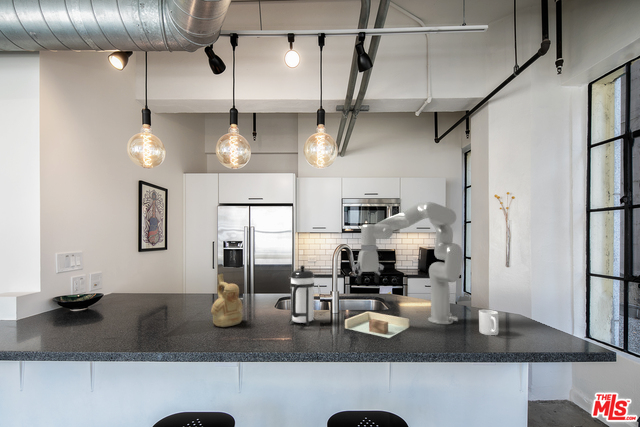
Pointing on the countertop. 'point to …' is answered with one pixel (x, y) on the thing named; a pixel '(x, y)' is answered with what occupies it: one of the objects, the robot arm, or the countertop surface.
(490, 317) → the cup
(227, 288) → the ceramic vessel
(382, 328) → the copper block
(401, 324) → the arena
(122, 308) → the countertop surface
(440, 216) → the robot arm
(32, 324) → the countertop surface
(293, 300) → the coffee press
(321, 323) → the countertop surface
